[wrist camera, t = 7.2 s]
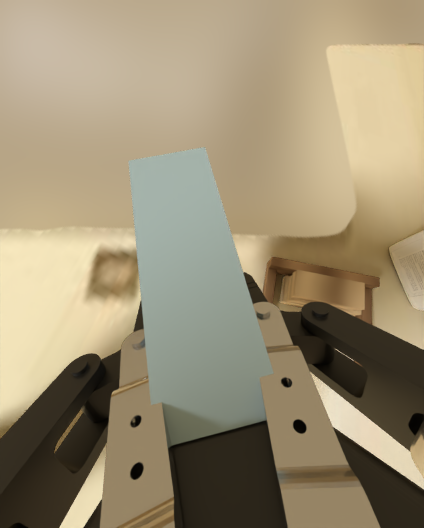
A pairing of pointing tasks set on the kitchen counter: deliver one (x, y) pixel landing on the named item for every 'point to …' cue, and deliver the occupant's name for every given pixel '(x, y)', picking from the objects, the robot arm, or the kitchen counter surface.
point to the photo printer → (410, 267)
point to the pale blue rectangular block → (194, 300)
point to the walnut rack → (291, 266)
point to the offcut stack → (323, 291)
